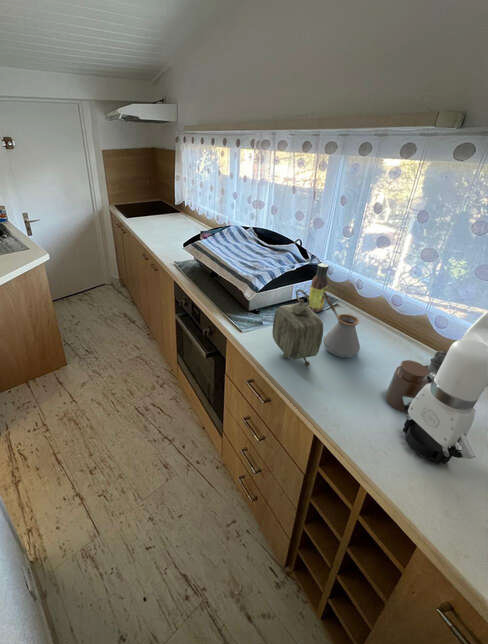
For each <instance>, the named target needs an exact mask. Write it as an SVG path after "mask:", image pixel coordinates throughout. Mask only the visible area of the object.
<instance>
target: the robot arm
mask: <svg viewBox="0 0 488 644" xmlns="http://www.w3.org/2000/svg"><path fill="white" fill-rule="evenodd" d="M446 353H447V355H446V357H445V359H444V361H443V362H442V364H441V366H440V368H439V370H438V372H437V374H435V373H433V372H432V373H430V374H429V377H430V378H431V379H432V382H431V383H429V384H426V385H425V386H424V387H423V388H422V390H421V391H420V392H419V393H418V394H417V396H416V397H412V396H404V397H403V402H404V404H405V406H404V408H405V411H406V412H405V414H406V415H405V419H406V420H405V421H404V424H403V429H402V432H403V433H404V434H406V433H407V431H408V429H409V427H410V425H411V424H413V423H417V424H418V425H419V426H421V427H422V428H423V429H424V430H425V431H426V432H427V433H428V434H429V435H430V436H431V437H432V438H433V439H434V440H436V441H437V442H438V443H439V444H440V445H442V449H443V450H442V451H439V453H438V454H437V456H436V458H435V459H433V463H434V464H435V465H440V464H442V465H446V464H448V463H449V462H450V461H451V459H452V458H456V459H468V460H469V459H473V458H476V457H477V456H476V453H475V451H474V449H473V448H472V446H471V444H470V442H469V440H468V439H467V436H468V434H469V432H470V430H471V429H472V425H473V422H474V420H475V415H476V409H475V405H477V403H478V401H479V399H480V397H481V396H482V394H483V393H484V391H485V390H486V388H487V386H488V310H487V311H485V312H484V313H483V314H482V315H481V316H480V317H479V318H478V319H476V320H475V321H474V322H473V324H471V325H470V327H469V328H467V329H466V331H465V332H464V334H463V335H462V337H461V339H458V340H455V341H454V342H453V343H452V344H451V345H450V347H449V349H448V350H447V352H446ZM458 444H459V446H460V449H459V447H458Z"/></svg>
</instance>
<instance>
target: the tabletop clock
mask: <svg viewBox="0 0 488 644" xmlns="http://www.w3.org/2000/svg"><path fill="white" fill-rule="evenodd" d="M298 292H300V293H302V295H304V296H305V298H306V300H307V303H308V304H307V303H304V302H305V299H303V298H300V297H299V295H298ZM295 297H296V300H297V301H298V302H296V303H291V304H284V305H279V307H278V308H276V310H275V312H274V317H273V322H272V333H271V334H272V335H271V336H272V339H273V340H274V342H275V344H276V345H277V346H278V348H279V350H280V351H282V353H283V354H282V357H283V358H284V359H288V358H290V359H292V360H300V359H303V361H304V363H303V364H304V366H306V367H309V366H310V364H311V363H310V361H308V360H307V358H310V357H316V356H317V355H318V353H319V352H320V348H321V345H322V342H323V337H324V336H323V335H324V322H323V321H322V319H321V318H320V316H319V315H318V314H317V313H316V312H315V311H312V310H311V309H310V308H309V307H308V305H309V304H310V301H309V295H308V293H306V291H304V290H303V289H297V290H296V291H295Z"/></svg>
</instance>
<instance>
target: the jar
mask: <svg viewBox="0 0 488 644" xmlns="http://www.w3.org/2000/svg"><path fill="white" fill-rule="evenodd" d="M428 374H429V372H428V370H427V368H426V367H425V365H424V364H422V363H420V362H418V361H415V360H411V359H405V360H402V361H401V362H400V365H399V366H397V367H396V368H395V369H394V373H393V375H392V378H391V380H390V383H389V385H388V387H387V389H386V392H385V394H384V399H385V401H386V403H387V404H388V405H390V406H391V407H392V408H394V409H395V410H398V411H400V412H404V413H406V411H405V408H404V406H405V404H404V402H403V397H404V396H412V397H416V396H417V394H418V393H419V392H420V391H421V390H422V388H423V387H424V386H425V385H426V384H427V383H428V379H427V376H428Z"/></svg>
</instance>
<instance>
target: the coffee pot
mask: <svg viewBox="0 0 488 644" xmlns="http://www.w3.org/2000/svg"><path fill="white" fill-rule="evenodd" d="M321 294H322V293H321ZM321 294H320V295H321ZM323 294H324V295H325V300H326V301H327V304H328V306H329V307H330V310H331V311H332V312H333V314H334V316H335V318H336V319H337V322H336V323H335V325H334V326H333V327H332V328H331V329H330V330H329V331H328V332H327V333H326V334H325V335H324V336H323V337H322V342H323V346H324V347H325V349H326V350H327V351H328V352H329V353H331V354H332V355H334V356H335V357H338V358H349V357H354V356H356V355H358V353H360V352H359V351H360V350H361V345H360V340H359V337H358V332H357V328H356V327H357V325H359V323H360V320H359V318H358V317H356V316H355V315H352V314H349V313H341V314H340V313H339V314H338V312H337V311H336V308H335V306H334V304H333V302H332V301H331V299H330V298H329V295H327V291H326V292H323ZM321 296H323V295H321Z"/></svg>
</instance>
